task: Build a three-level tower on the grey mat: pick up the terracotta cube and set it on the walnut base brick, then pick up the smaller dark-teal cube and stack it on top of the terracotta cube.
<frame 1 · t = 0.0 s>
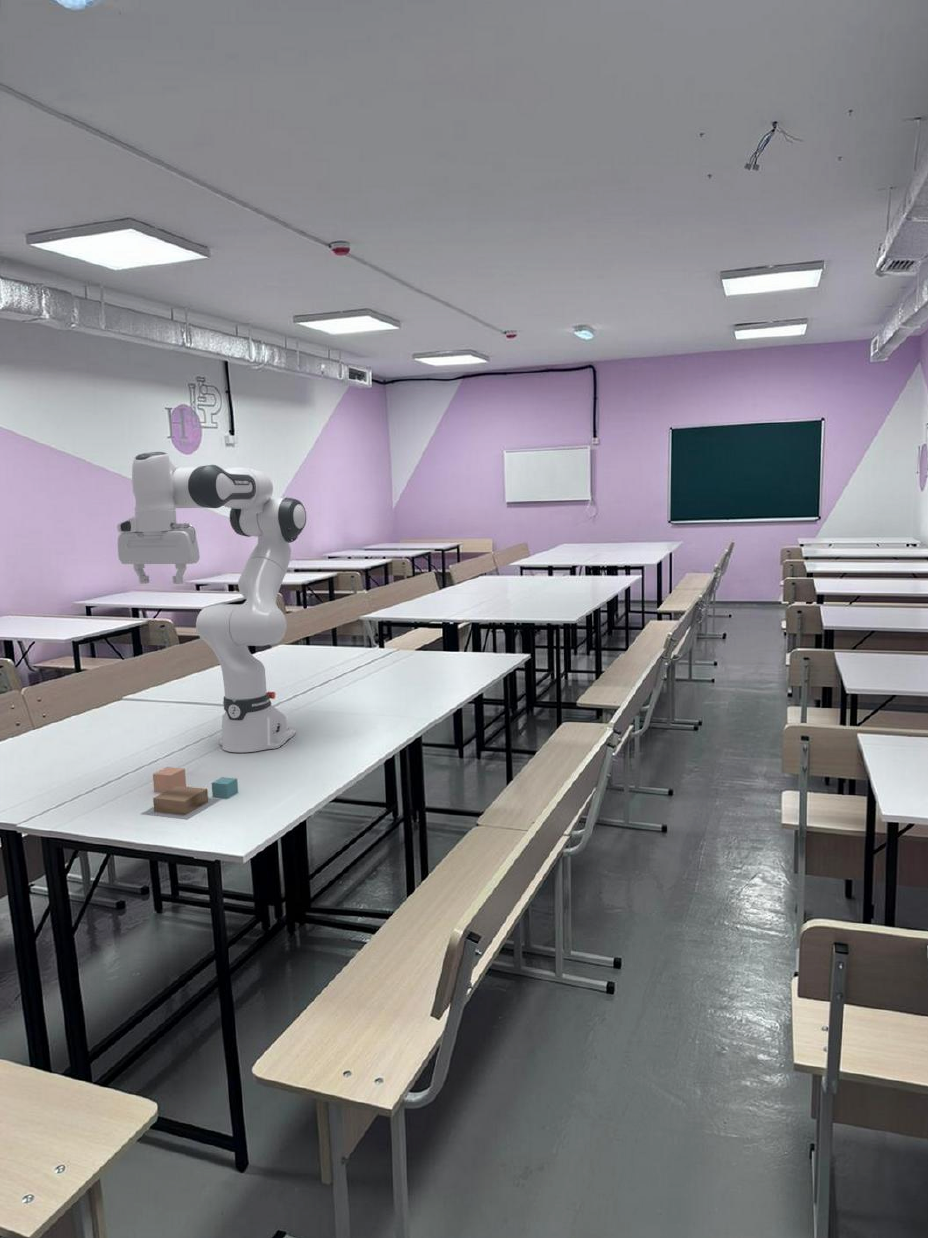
hand: (161, 583, 195), 48 cm above the table, tool pointing down, fingers open, 8 cm apart
mat: (181, 809, 183), on the table
terracotta cube: (170, 791, 195), on the table
teal cube: (225, 797, 190), on the table
base brick: (181, 806, 183), point 1 cm above the table, touching mat
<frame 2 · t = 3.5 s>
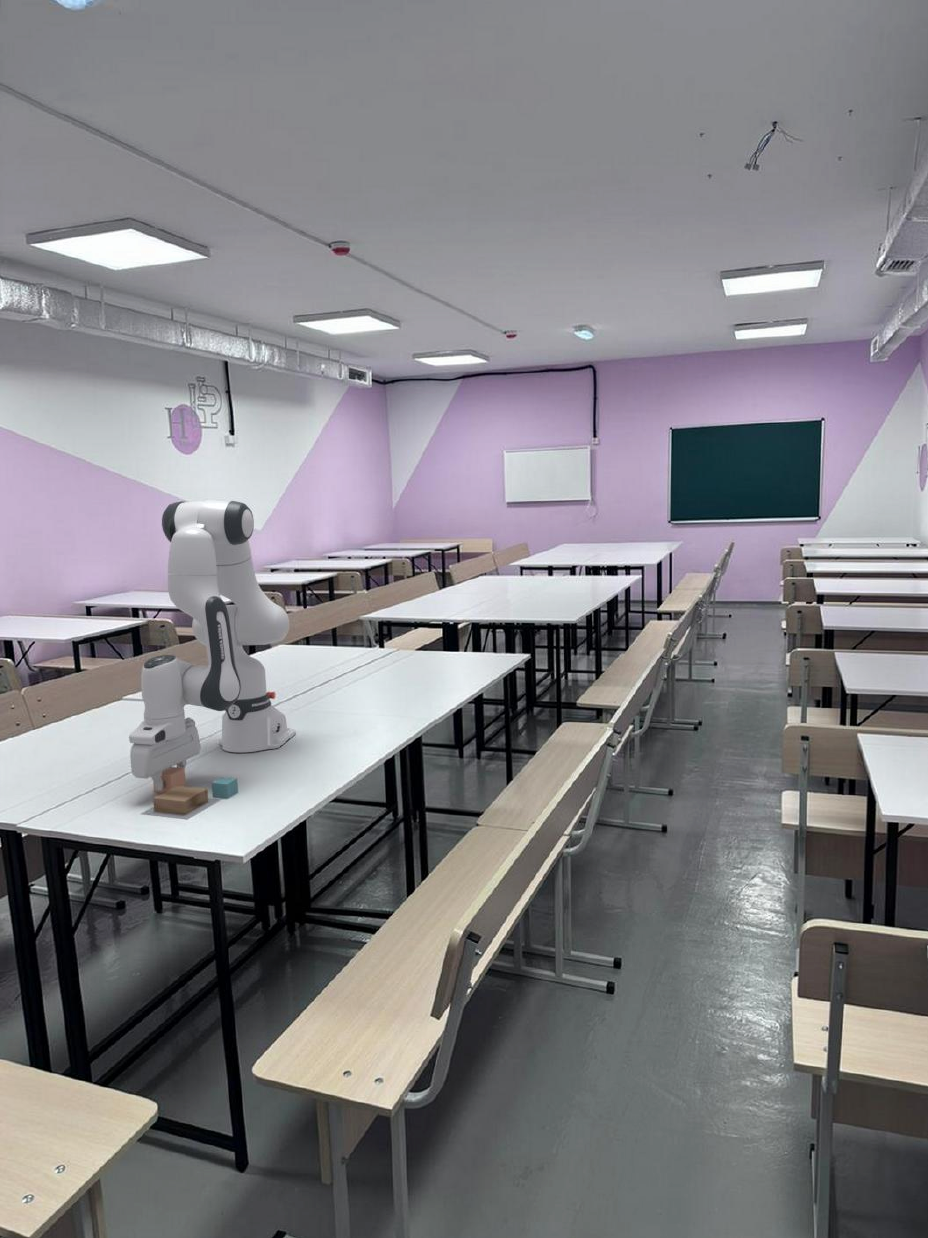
hand: (170, 784, 195), 2 cm above the table, tool pointing down, fingers closed on terracotta cube, 5 cm apart
terracotta cube: (170, 791, 195), on the table, touching gripper
everything else where it was.
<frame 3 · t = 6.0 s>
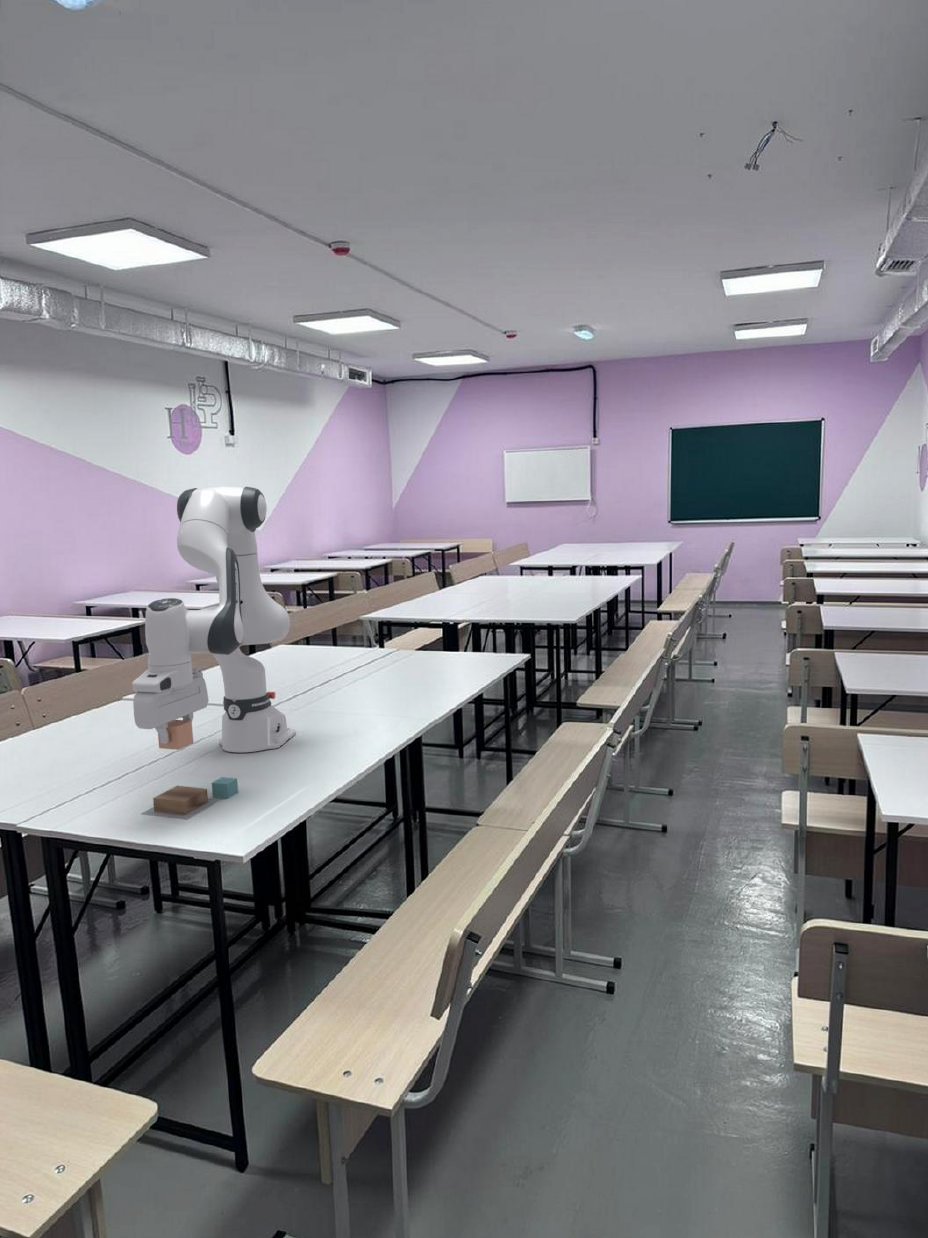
hand: (176, 738, 181), 16 cm above the table, tool pointing down, fingers closed on terracotta cube, 5 cm apart
terracotta cube: (176, 745, 181), point 14 cm above the table, touching gripper
everything else where it was.
when the fingers open (6 cm above the table, at t = 8.2 s): terracotta cube stays where it is, resting on base brick.
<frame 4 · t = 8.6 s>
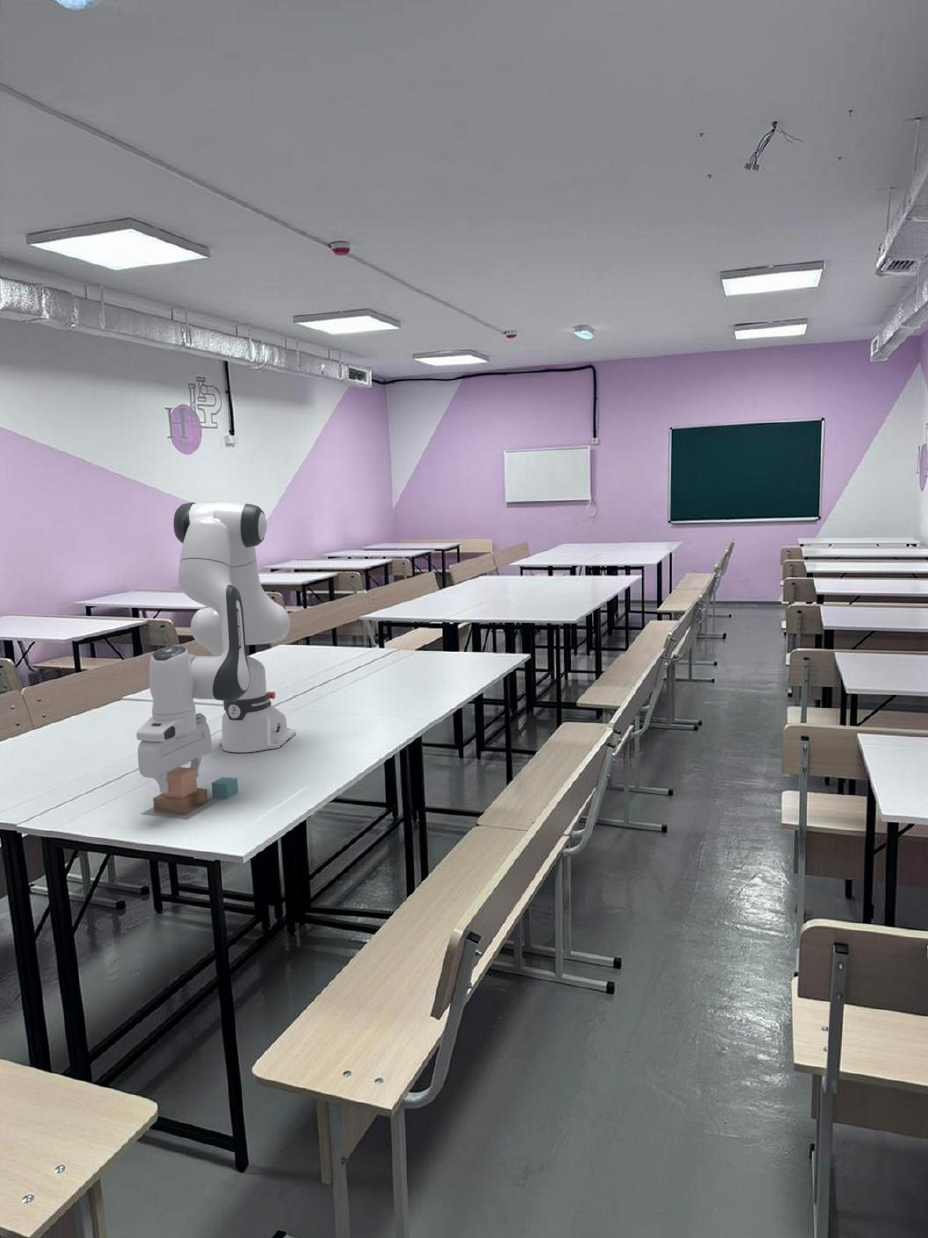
hand: (179, 784, 182), 6 cm above the table, tool pointing down, fingers open, 8 cm apart
terracotta cube: (180, 793, 183), point 4 cm above the table, touching base brick
base brick: (181, 806, 183), point 1 cm above the table, touching mat, terracotta cube
everything else where it was.
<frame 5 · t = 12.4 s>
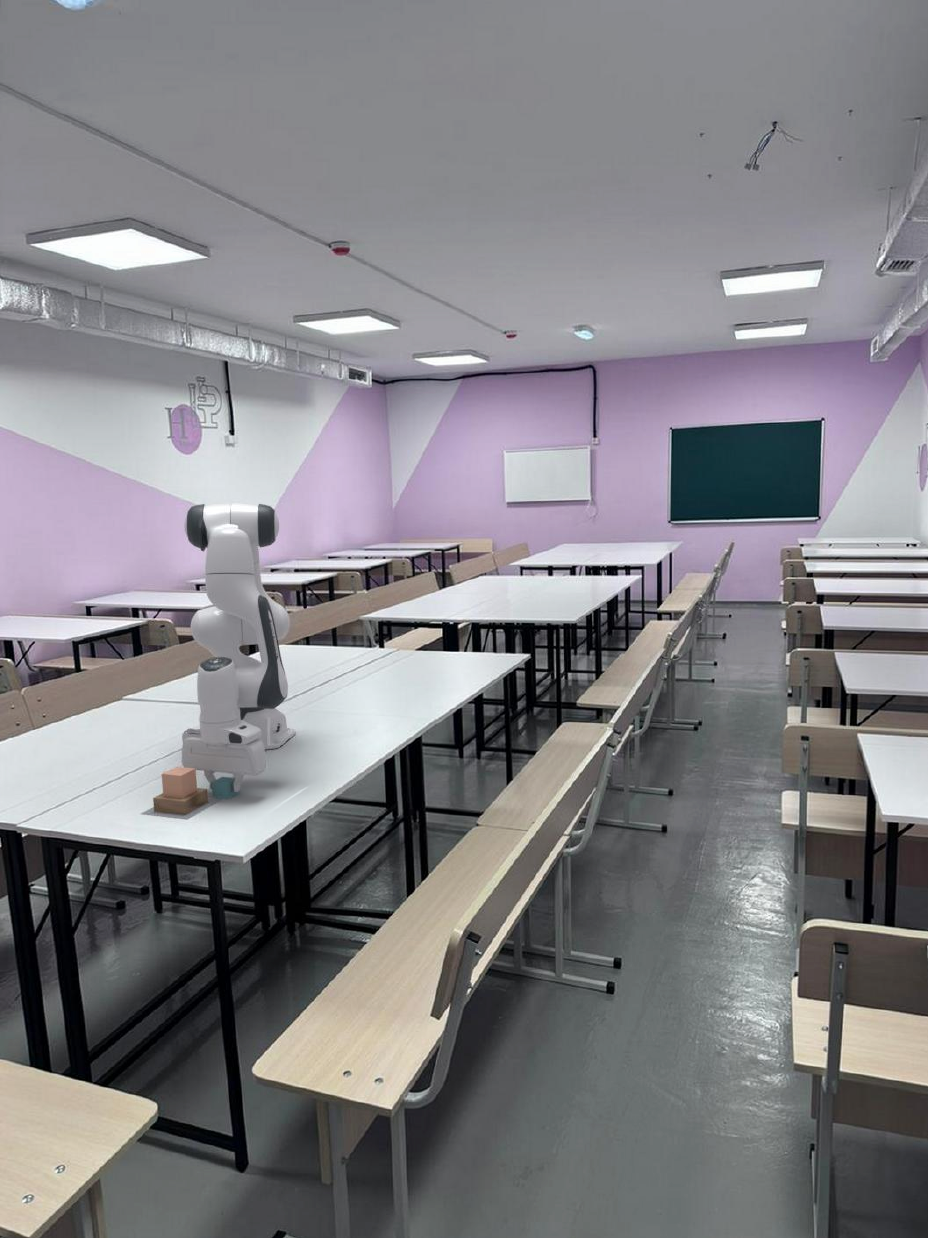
hand: (225, 790, 190), 2 cm above the table, tool pointing down, fingers closed on teal cube, 4 cm apart
teal cube: (225, 797, 190), on the table, touching gripper
everything else where it was.
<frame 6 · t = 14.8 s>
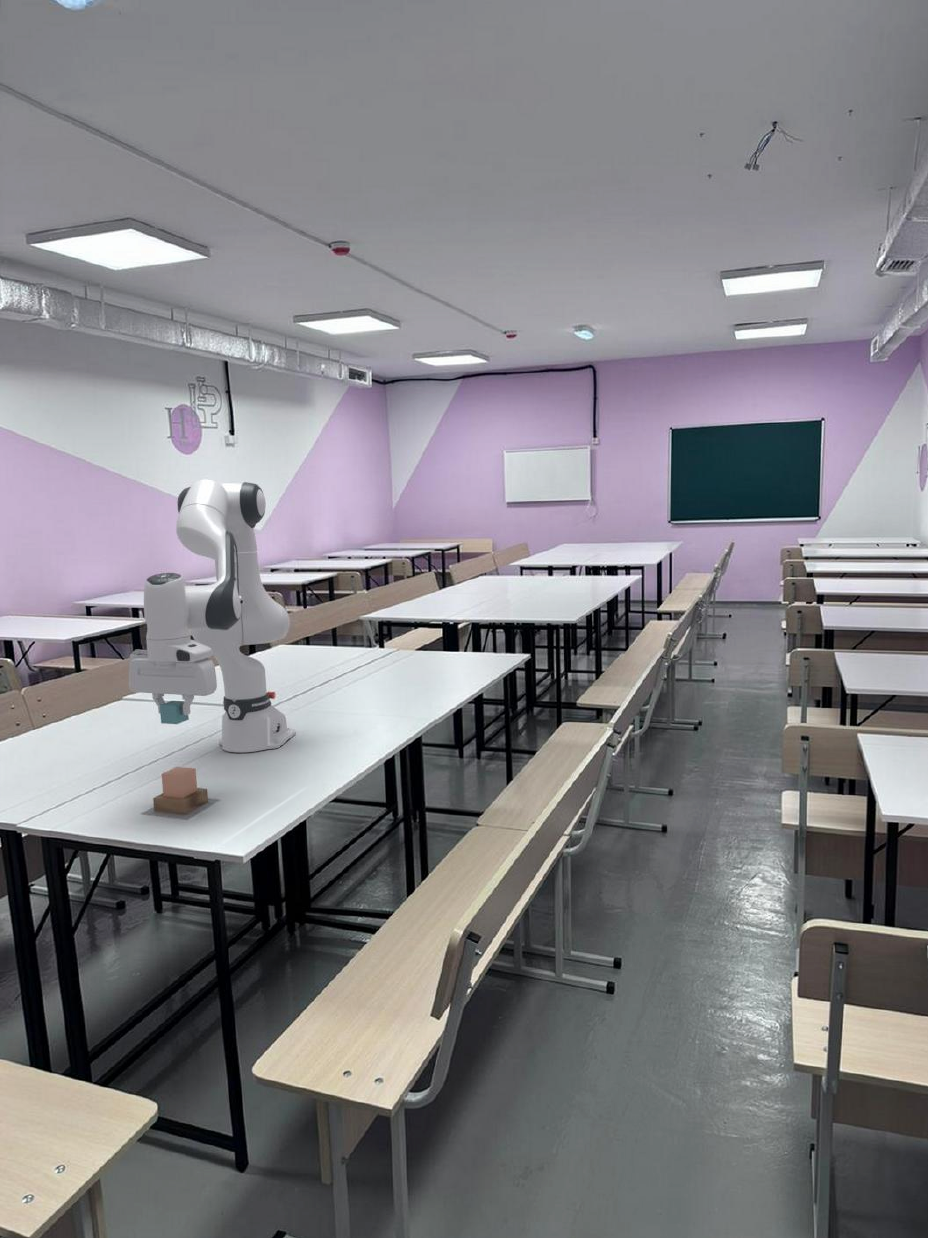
hand: (174, 713, 180), 21 cm above the table, tool pointing down, fingers closed on teal cube, 4 cm apart
teal cube: (175, 721, 180), point 20 cm above the table, touching gripper
everything else where it was.
when the fingers open (10 cm above the table, at t = 17.2 s): teal cube stays where it is, resting on terracotta cube.
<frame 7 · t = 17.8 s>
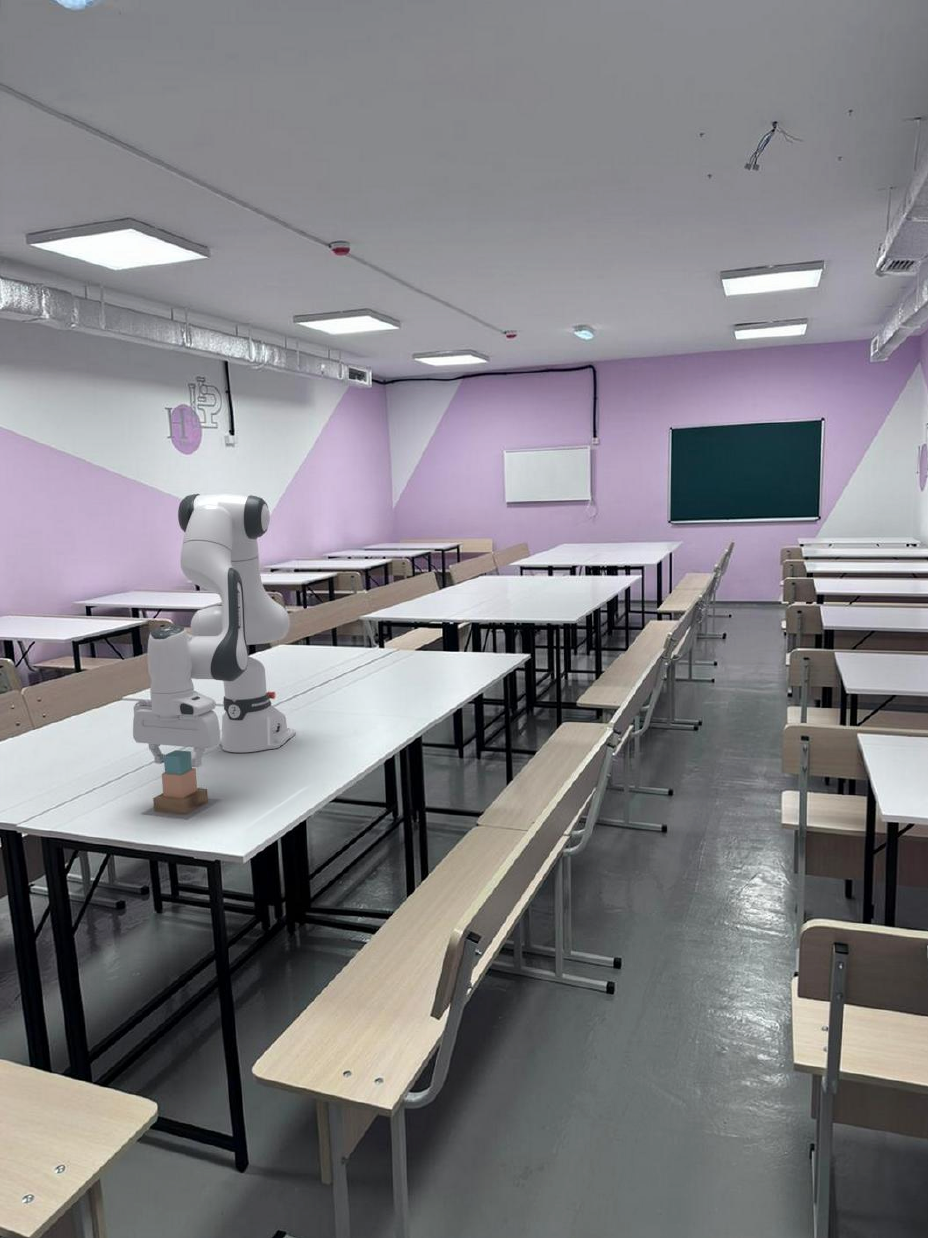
hand: (178, 764, 182), 10 cm above the table, tool pointing down, fingers open, 8 cm apart
terracotta cube: (180, 793, 183), point 4 cm above the table, touching base brick, teal cube
teal cube: (178, 771, 182), point 9 cm above the table, touching terracotta cube
everything else where it was.
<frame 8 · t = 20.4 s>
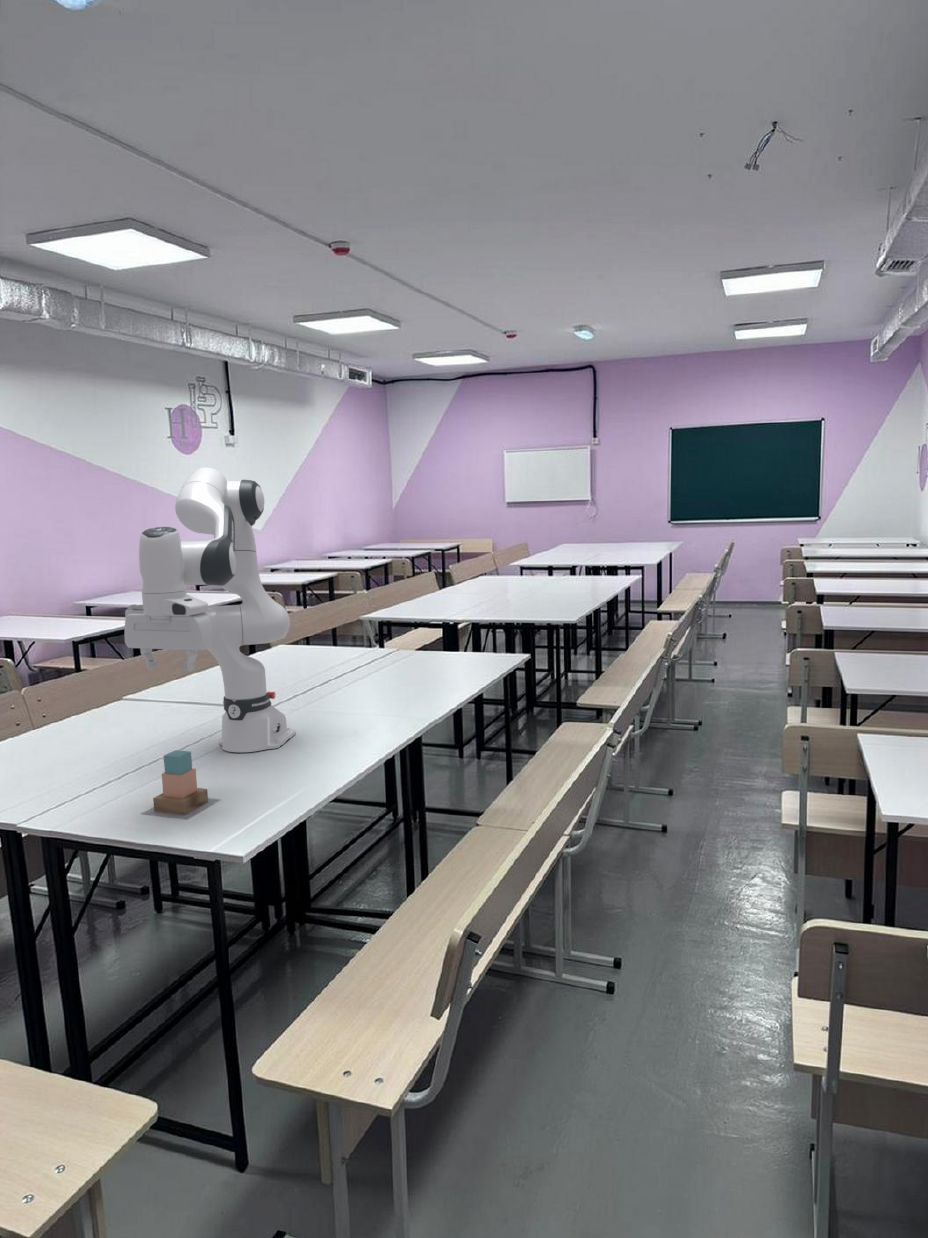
hand: (170, 669, 179), 31 cm above the table, tool pointing down, fingers open, 8 cm apart
nothing on the table moved.
at the end: terracotta cube 0.1 cm off-centre on the base brick, point 3.0 cm above the base brick's base; teal cube 0.1 cm off-centre on the terracotta cube, point 5.0 cm above the terracotta cube's base; teal cube point 8.6 cm above the table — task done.
